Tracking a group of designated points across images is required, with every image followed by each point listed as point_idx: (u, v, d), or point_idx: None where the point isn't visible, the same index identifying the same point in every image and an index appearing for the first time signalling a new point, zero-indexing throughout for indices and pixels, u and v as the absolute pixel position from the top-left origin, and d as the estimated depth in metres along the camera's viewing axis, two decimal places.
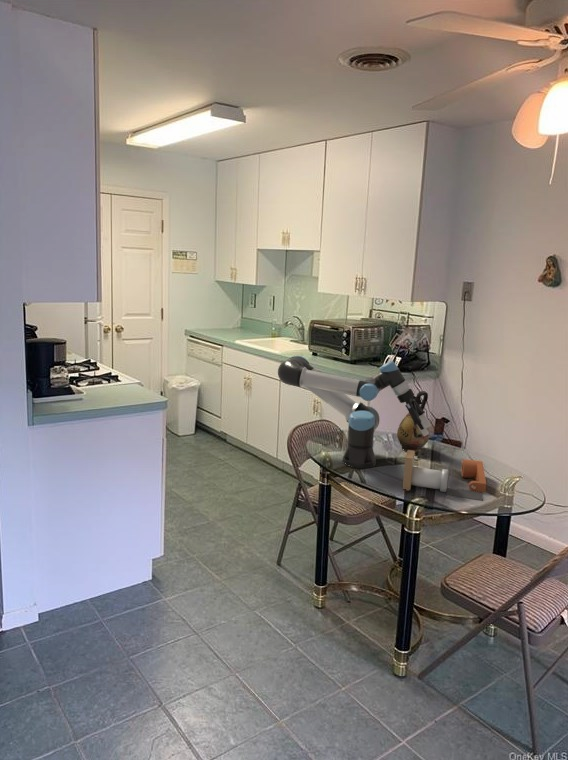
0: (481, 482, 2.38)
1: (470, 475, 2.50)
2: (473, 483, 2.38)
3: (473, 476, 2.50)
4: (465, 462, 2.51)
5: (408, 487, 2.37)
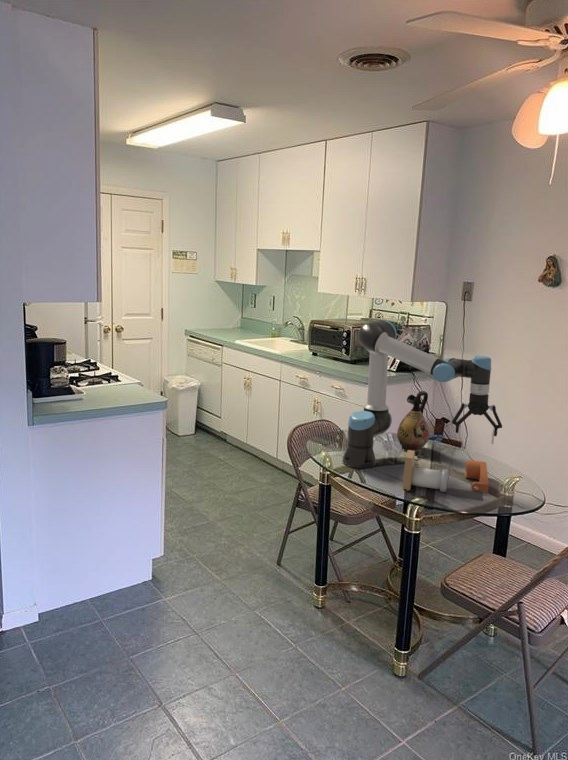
0: (483, 483, 2.37)
1: (473, 476, 2.50)
2: (475, 484, 2.38)
3: (476, 477, 2.50)
4: (468, 463, 2.51)
5: (408, 487, 2.37)
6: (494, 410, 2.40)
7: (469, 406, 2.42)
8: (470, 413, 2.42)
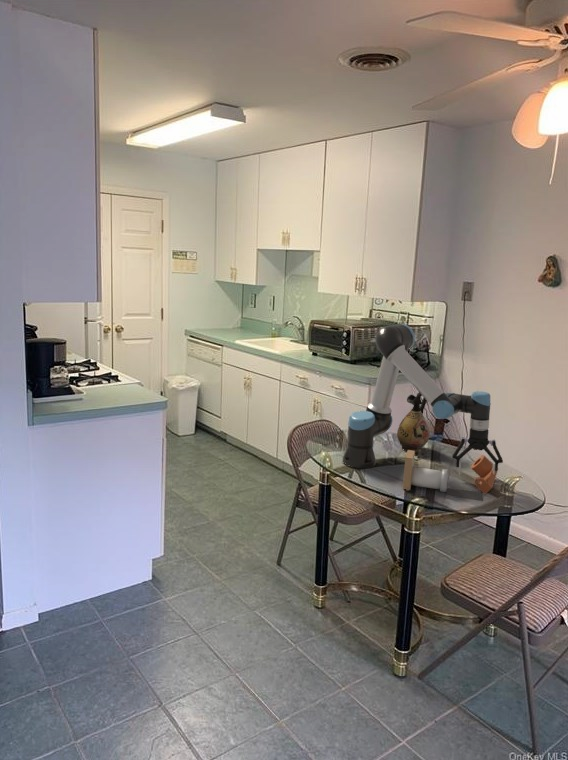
0: (488, 484, 2.36)
1: (479, 472, 2.48)
2: (482, 480, 2.36)
3: (481, 474, 2.48)
4: (484, 459, 2.48)
5: (408, 487, 2.37)
6: (494, 445, 2.41)
7: (469, 441, 2.44)
8: (470, 448, 2.44)
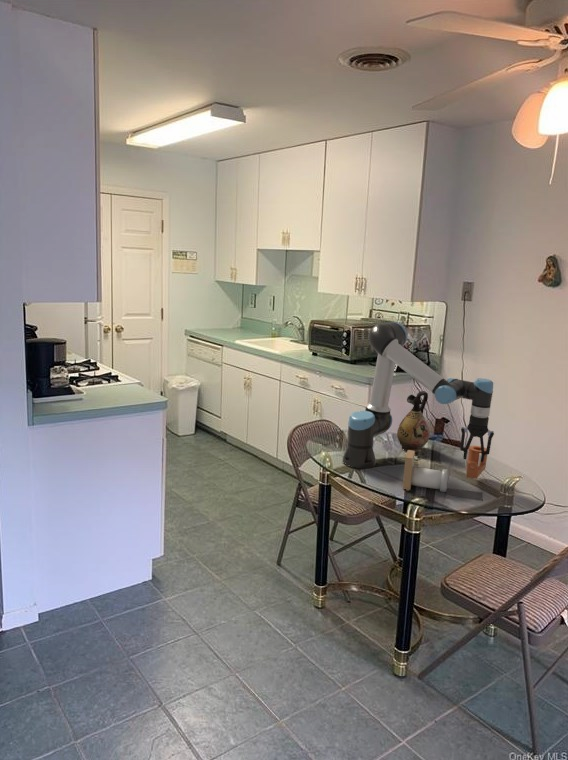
0: (477, 474, 2.37)
1: (472, 457, 2.48)
2: (476, 467, 2.36)
3: (472, 460, 2.49)
4: None
5: (408, 487, 2.37)
6: (491, 436, 2.41)
7: (469, 428, 2.43)
8: (472, 436, 2.43)
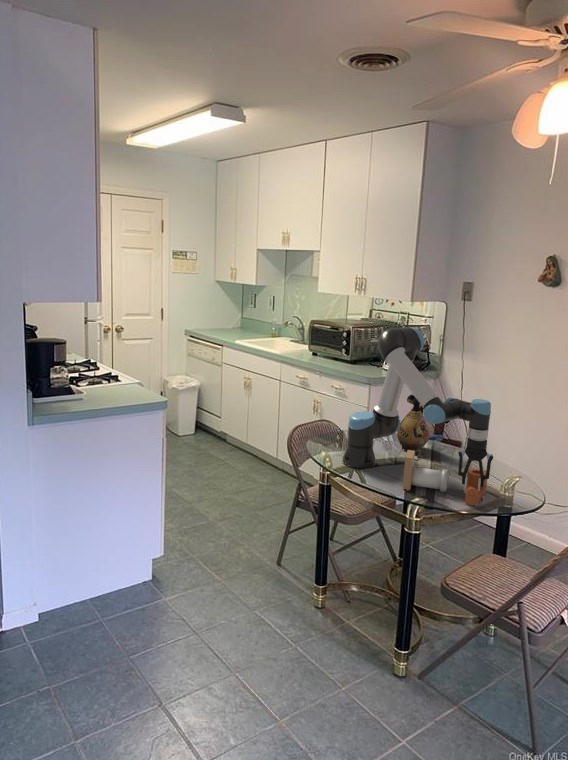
0: (476, 500, 2.24)
1: (472, 481, 2.35)
2: (476, 493, 2.23)
3: (471, 484, 2.36)
4: None
5: (408, 487, 2.37)
6: (490, 460, 2.28)
7: (466, 452, 2.30)
8: (470, 460, 2.30)
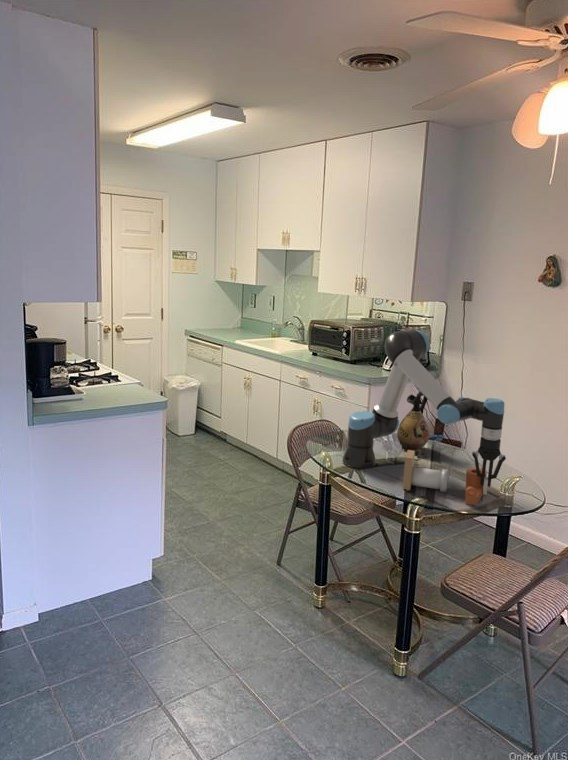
0: (476, 499, 2.24)
1: (471, 480, 2.35)
2: (475, 492, 2.23)
3: (470, 484, 2.36)
4: (485, 475, 2.35)
5: (408, 487, 2.37)
6: (502, 461, 2.27)
7: (480, 452, 2.29)
8: (485, 460, 2.28)
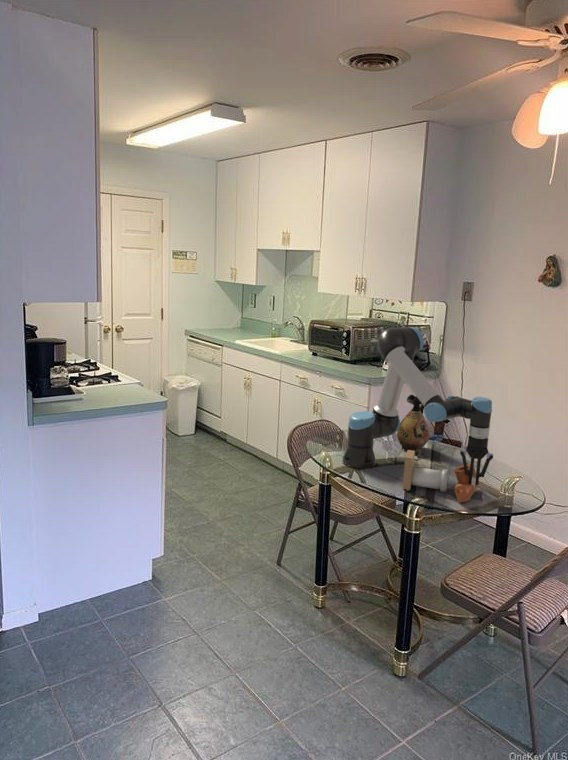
0: (467, 495, 2.25)
1: (461, 478, 2.36)
2: (463, 489, 2.24)
3: (461, 481, 2.37)
4: None
5: (408, 487, 2.37)
6: (489, 459, 2.28)
7: (468, 450, 2.30)
8: (473, 459, 2.30)
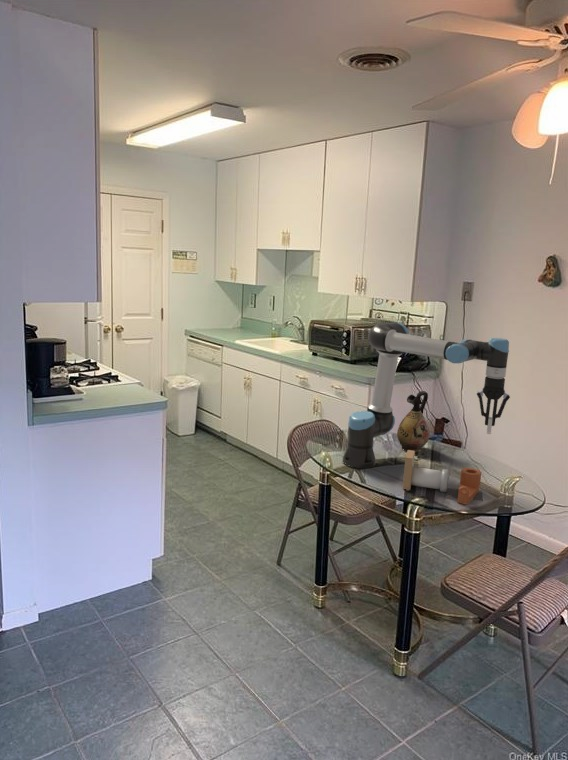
0: (468, 499, 2.25)
1: (465, 480, 2.36)
2: (468, 492, 2.24)
3: (464, 483, 2.36)
4: (479, 475, 2.35)
5: (408, 487, 2.37)
6: (506, 399, 2.31)
7: (484, 391, 2.33)
8: (489, 399, 2.32)
